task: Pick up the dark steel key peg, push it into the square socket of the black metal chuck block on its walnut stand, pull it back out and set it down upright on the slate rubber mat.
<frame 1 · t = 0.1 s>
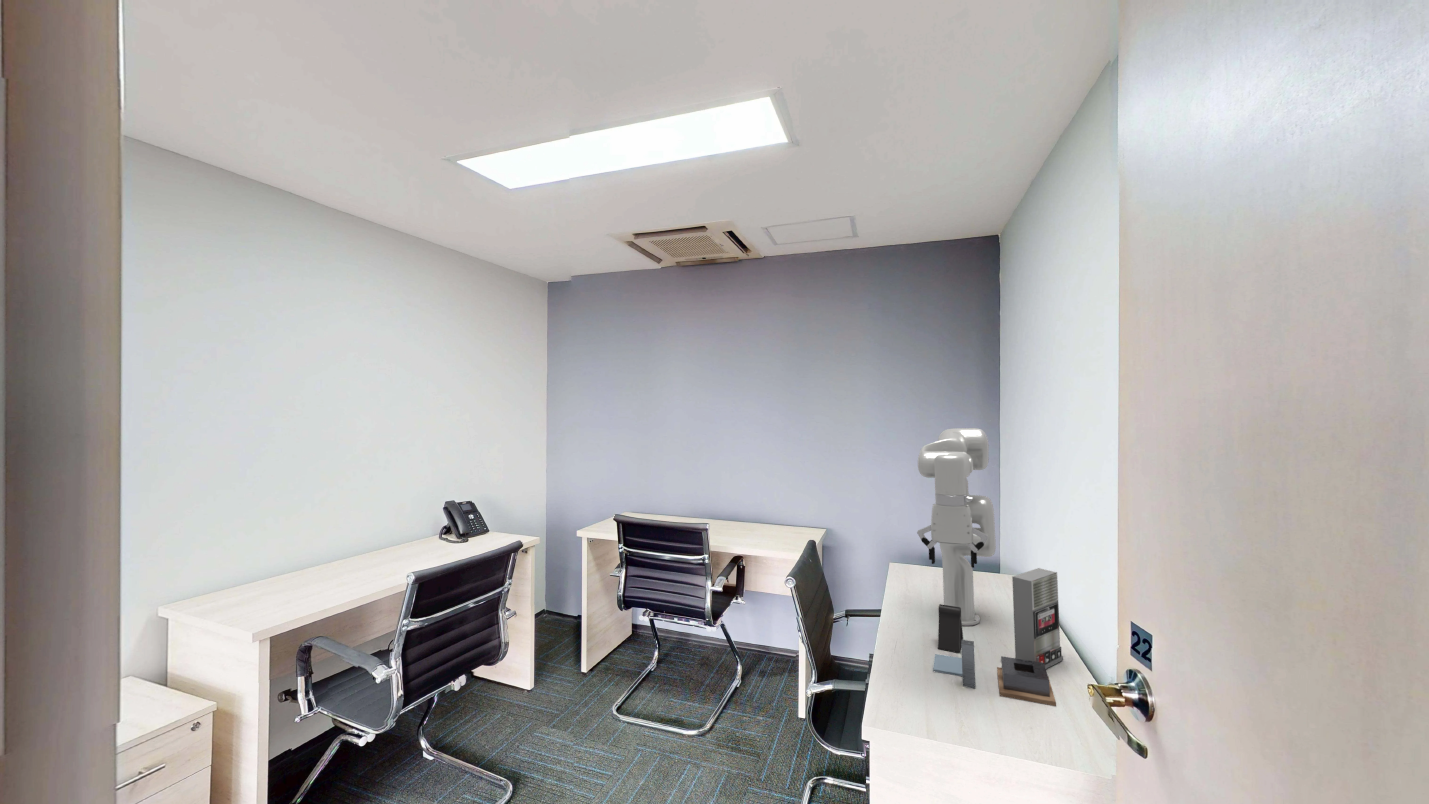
hand: (952, 564, 142), 31 cm above the table, tool pointing down, fingers open, 9 cm apart
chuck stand: (1024, 687, 137), on the table
key peg: (969, 684, 139), on the table
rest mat: (953, 666, 149), on the table
phone stand: (951, 646, 162), on the table
cassette tape recorder: (1039, 664, 149), on the table
chuck block: (1024, 675, 137), on the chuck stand, point 3 cm above the table
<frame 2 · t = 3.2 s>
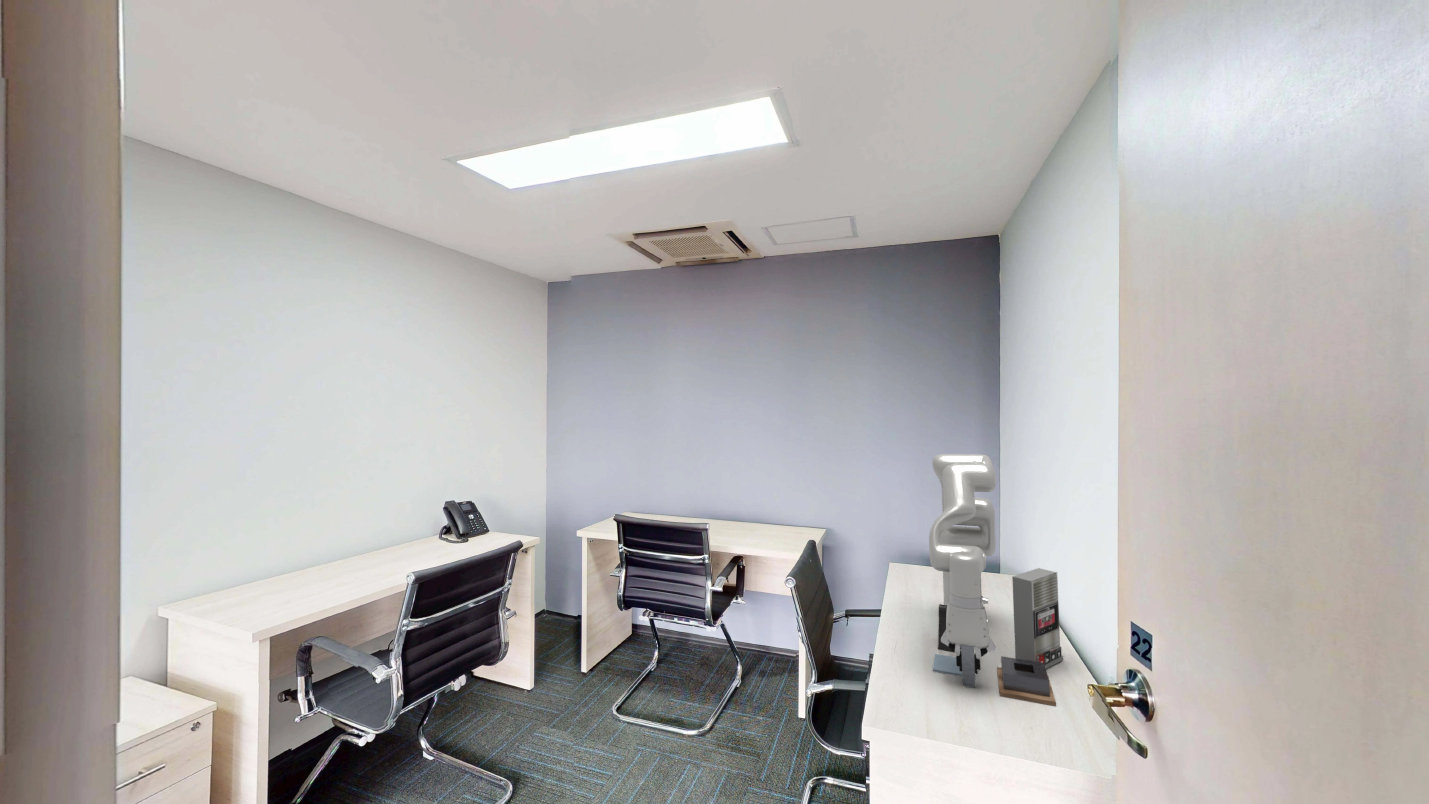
hand: (968, 669, 139), 4 cm above the table, tool pointing down, fingers closed on key peg, 3 cm apart
key peg: (969, 684, 139), on the table, touching gripper
everything else where it was.
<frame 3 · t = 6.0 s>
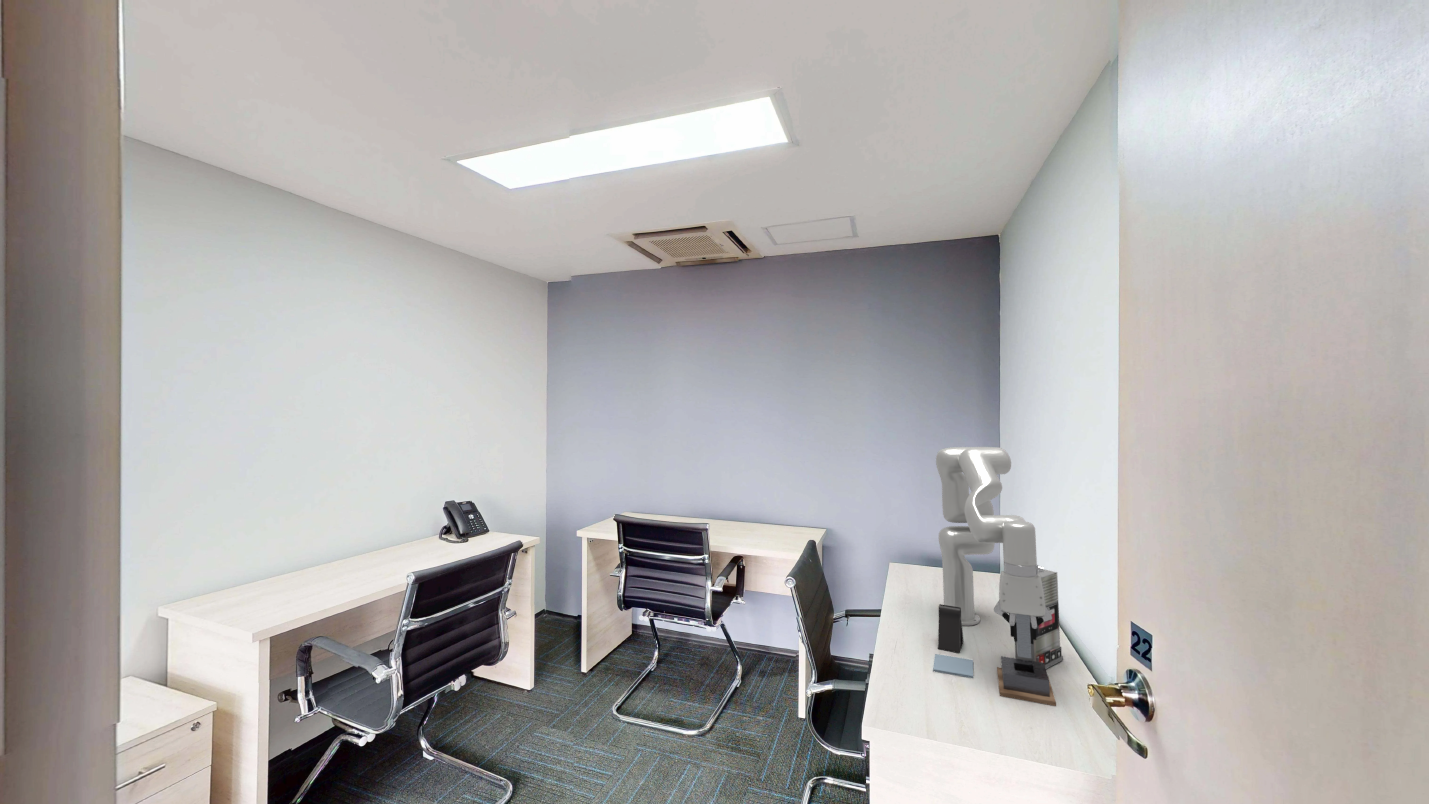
hand: (1023, 640, 137), 12 cm above the table, tool pointing down, fingers closed on key peg, 3 cm apart
key peg: (1024, 655, 137), point 8 cm above the table, touching gripper
everything else where it was.
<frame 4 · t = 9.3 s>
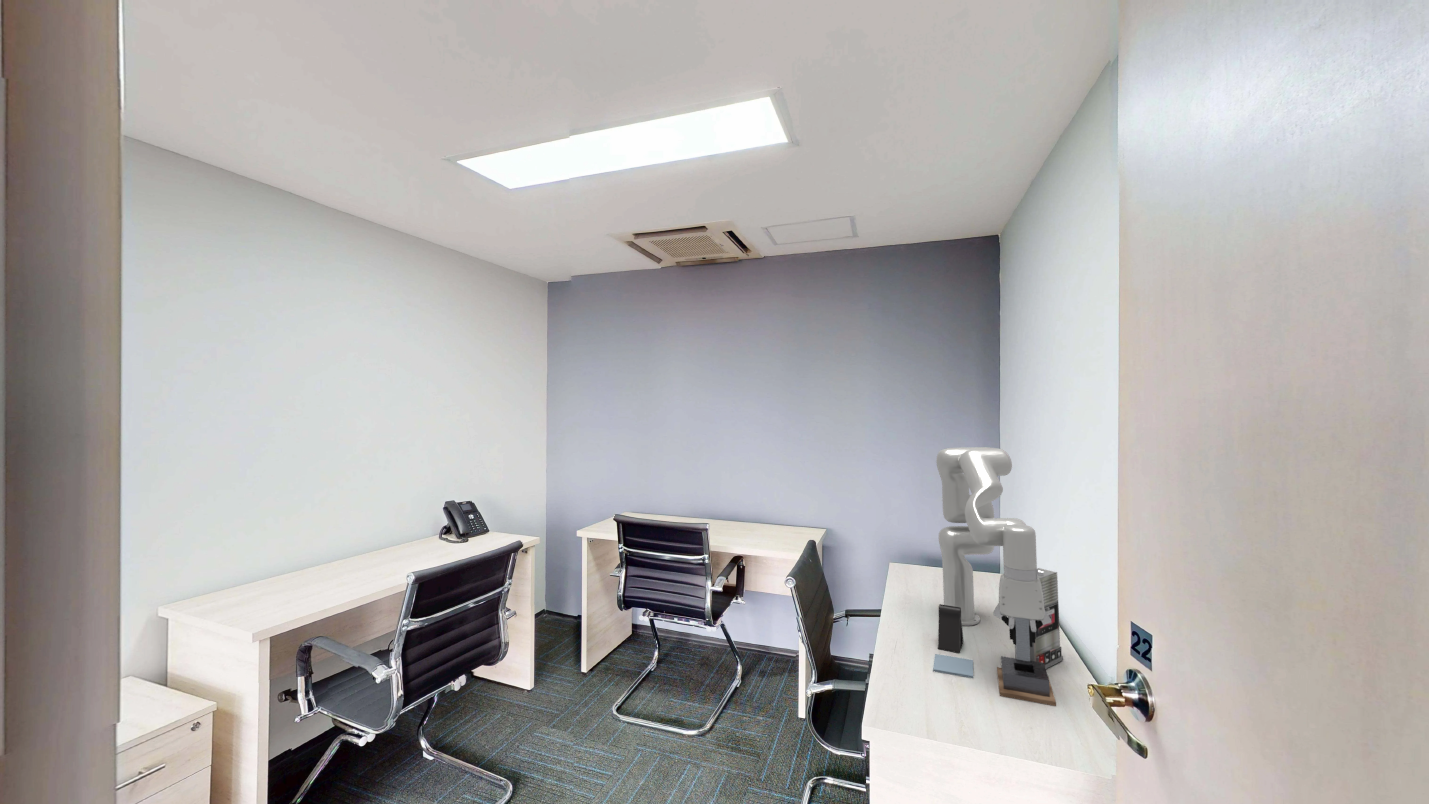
hand: (1022, 643, 138), 11 cm above the table, tool pointing down, fingers closed on key peg, 3 cm apart
key peg: (1022, 657, 138), point 7 cm above the table, touching gripper
everything else where it was.
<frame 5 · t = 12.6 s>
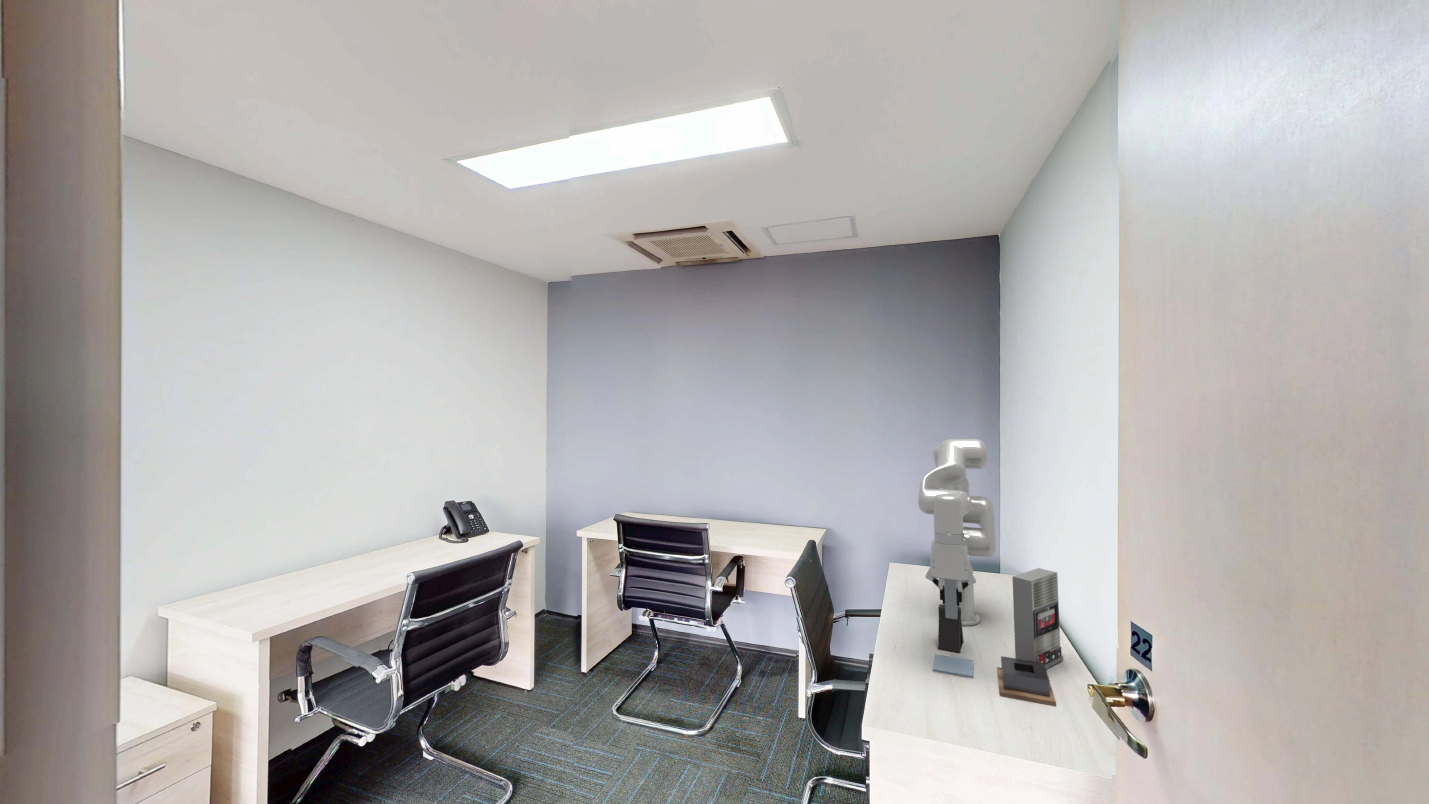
hand: (951, 603, 149), 18 cm above the table, tool pointing down, fingers closed on key peg, 3 cm apart
key peg: (951, 616, 149), point 14 cm above the table, touching gripper
everything else where it was.
when the fingers open (5 cm above the table, at t = 15.5 s): key peg stays where it is, resting on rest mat.
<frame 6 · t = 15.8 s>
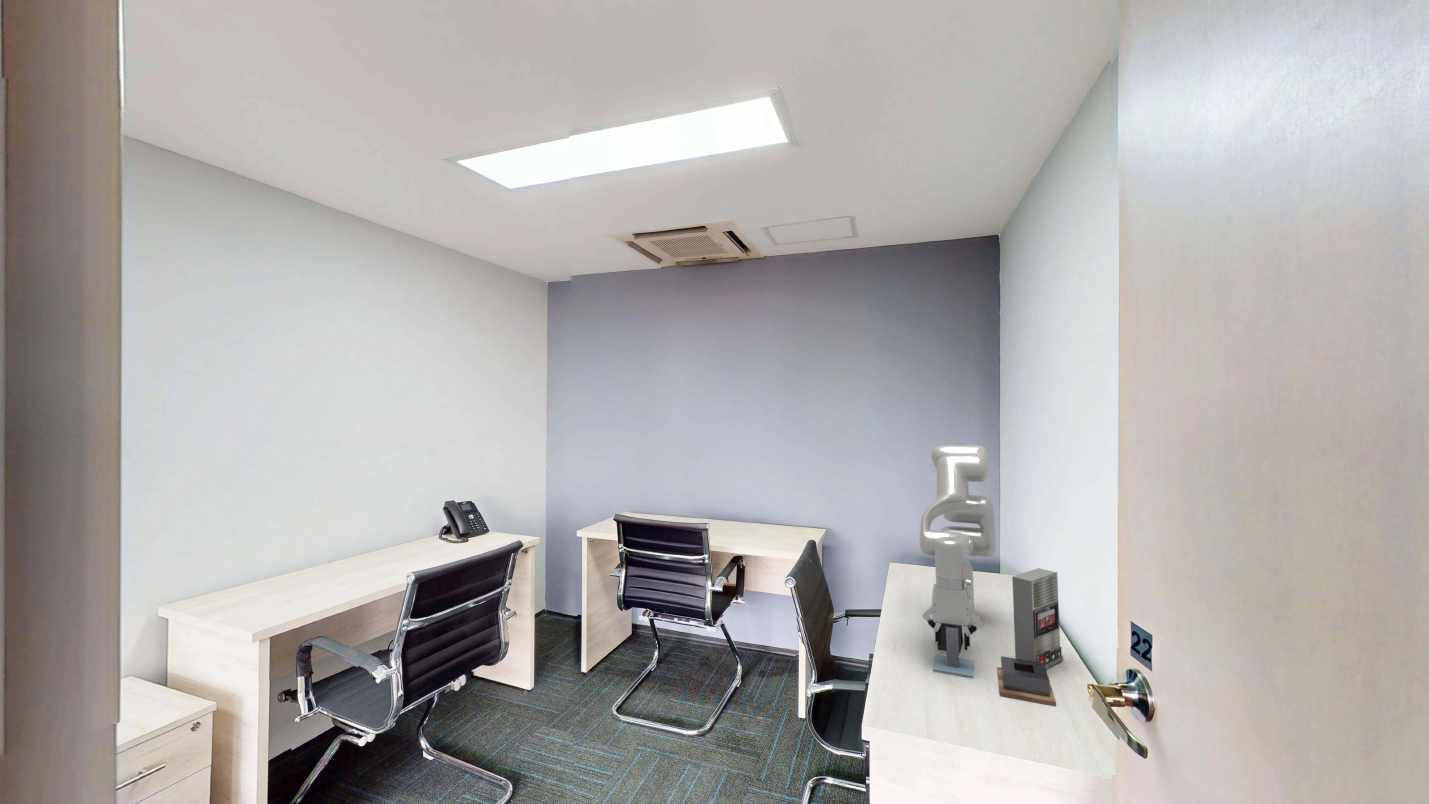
hand: (952, 645, 149), 6 cm above the table, tool pointing down, fingers open, 6 cm apart
key peg: (953, 664, 149), point 1 cm above the table, touching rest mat
everything else where it was.
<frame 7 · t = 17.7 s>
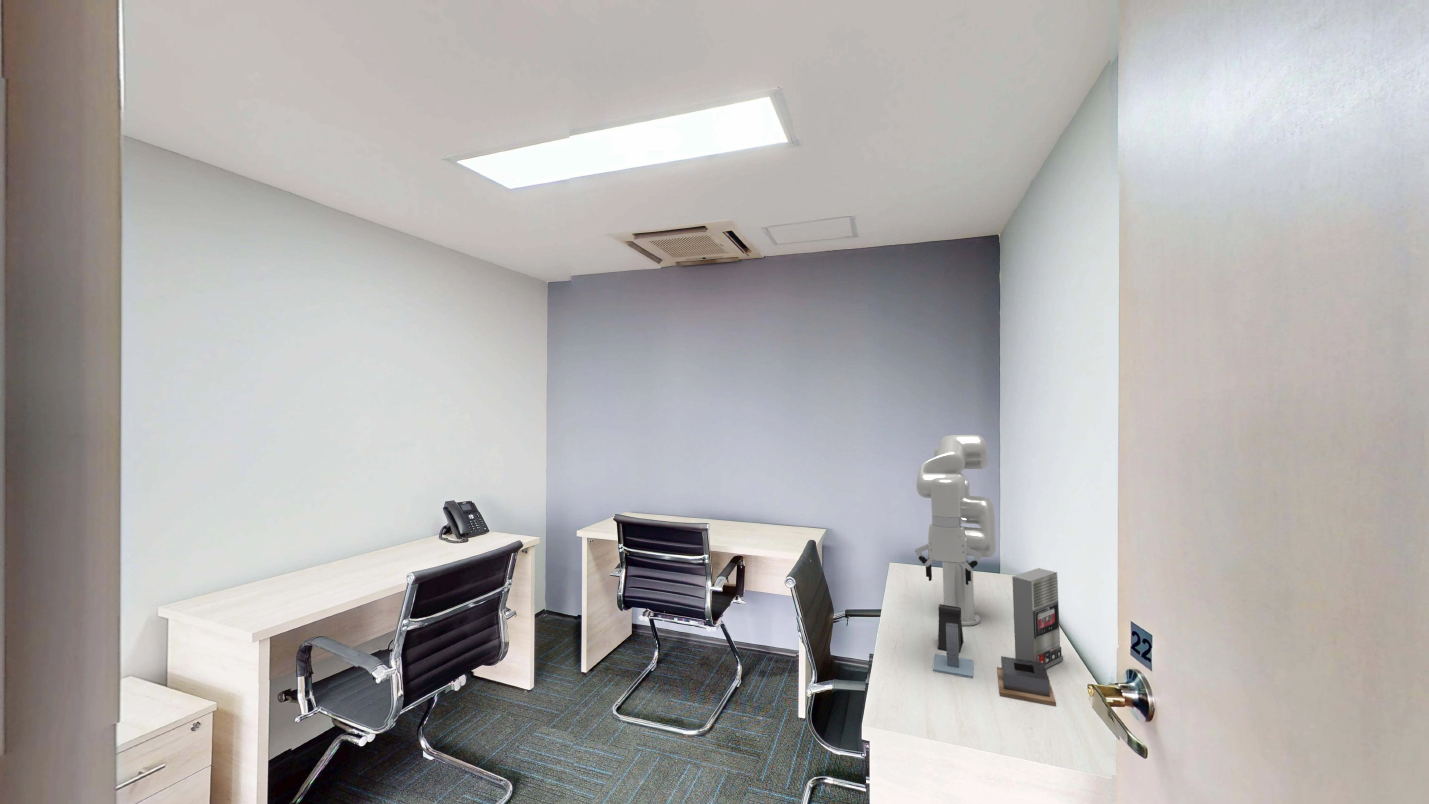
hand: (948, 581, 151), 24 cm above the table, tool pointing down, fingers open, 9 cm apart
nothing on the table moved.
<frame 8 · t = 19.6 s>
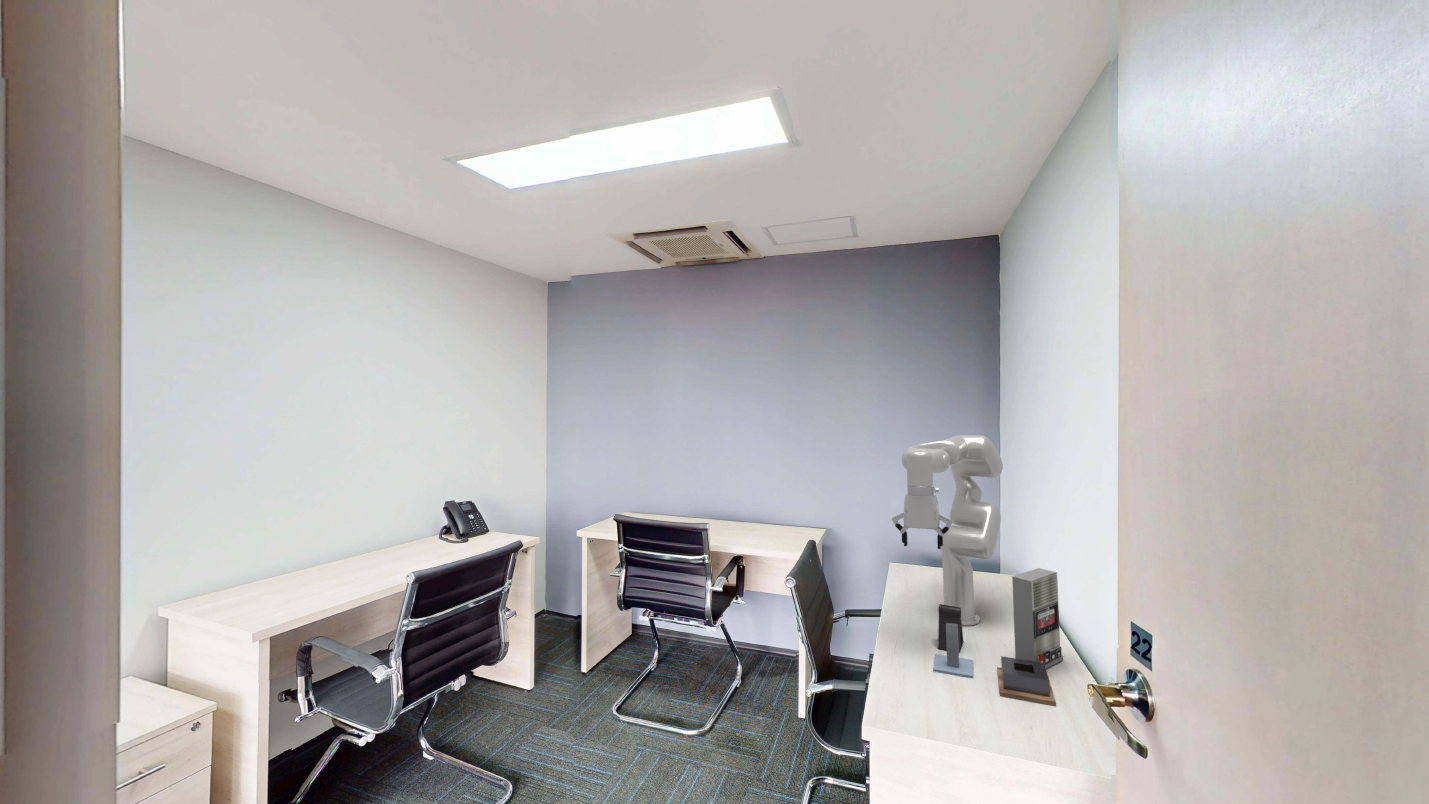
hand: (922, 546, 163), 30 cm above the table, tool pointing down, fingers open, 9 cm apart
nothing on the table moved.
at the end: key peg inside the target area on the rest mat (0.2 cm from its centre), point 0.6 cm above the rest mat's base; key peg tilted 0°; the gripper is holding nothing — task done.
